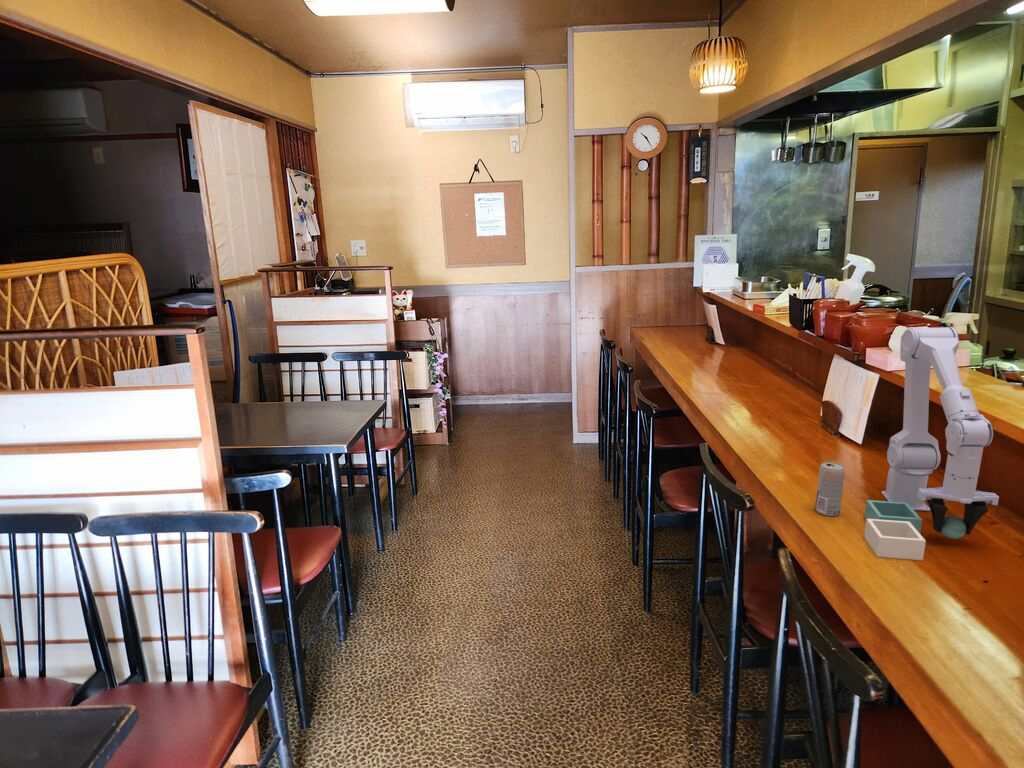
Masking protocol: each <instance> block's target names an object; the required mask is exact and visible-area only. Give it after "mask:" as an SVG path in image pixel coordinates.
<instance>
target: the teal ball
mask: <svg viewBox="0 0 1024 768" xmlns="http://www.w3.org/2000/svg"><path fill="white" fill-rule="evenodd" d="M965 532H966V524H965V523H964V521H963V519H962V518H961V517H959V516H956V515H952V514H950V515H945V516H944V519H943V525H942V530H941V533H940V534H941V535H943V536H944V537H946V538H948V539H953V540H955V539H956V540H957V539H960V538H962V537H963V536H964V535H965Z"/></svg>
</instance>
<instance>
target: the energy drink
mask: <svg viewBox="0 0 1024 768" xmlns="http://www.w3.org/2000/svg"><path fill="white" fill-rule="evenodd" d="M818 470H819V471H818V472H819V473H818V481H817V489H816V499H815V509H814V510H815V511H816V512H817V514H820V516H821V515H822V516H825V517H837V516H839V515H841V506H842V499H843V492H844V491H843V490H844V483H845V474H846V473H845V472H846V471H845V470H846V469H845V466H844V465H843V464H841V463H838V462H832V461H824V462H821V464H820V467H819V469H818Z"/></svg>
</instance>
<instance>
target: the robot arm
mask: <svg viewBox="0 0 1024 768" xmlns="http://www.w3.org/2000/svg"><path fill="white" fill-rule="evenodd" d="M959 344H960V340H959V335H958V332H957V331H956V329H955V328H954V327H953V326H947V327H913V326H910V327H907V328H906V329H905V330H904V332H903V333H902V334H901V336H900V347H899V348H900V351H899V353H900V357H899V358H900V361H901V362H904V363H905V364H904V365H905V368H904V388H903V389H904V393H903V394H904V395H903V398H904V399H903V422H902V423H903V424H902V425H903V426H902V429H901V431H898V432H897V433H895V434H894V435H892V436H891V437H890V439H889V444H888V449H887V452H886V458H887V463H888V464H889V466H890V467H889V470H888V473H887V479H886V488H885V490H882V491H881V495H882V496H883V497H884V498H885V499H886V501H888V502H903V503H908V504H909V505H910V507H911V508H912V509H913V510H914V511H925V512H930V513H931V517H932V527H933V530H935V532H936V533H940V534H942V533H941V530H942V525H943V519H944V516H946V512H947V511H948V509H949V508H948V506H946V504H945V503H946V502H948V501H949V502H960V504H963V505H964V508H963V509H964V513H963V519H962V520H963V521H964V523H965V524H966V532H965V534H966V535H968V536H970V535H971V532H972V531H973V529H974V528H975V526H976V525H977V523H978V522H979V520H980V519H981V518H982V517H983V516H985V515H986V514H987V513H988V511H989V506H987V504H991V505H993V506H998V504H999V499H1000V496H999V495H997V494H996V493H995V492H988V491H987V492H986V491H981V490H976V489H977V485H978V478H979V474H980V467H981V462H982V457H983V451H984V447H988V446H990V445H991V443H992V441H993V439H994V431H993V427H992V423H991V422H990V421H989V420H988V419H987V418H985V416H984V414H980V412H979V409H978V407H977V403H976V401H975V398H974V396H973V393H972V391H971V390H970V389H969V387H966V386H963V383H962V379H961V374H960V369H959V366H958V363H957V358H956V354H957V351H958V349H959ZM931 367H932V369H933V371H934V373H935V375H936V378H937V379H938V382H939V384H940V386H941V388H942V392H941V393H940V395H939V400H940V402H941V406H942V409H943V412H944V415H945V419H946V420H947V423H948V424H947V426H946V427H945V430H944V431H945V432H944V433H945V434H944V435H945V439H946V440H945V441H946V446H945V447H946V451H947V459H946V464H945V470H944V477H943V482H942V486H941V487H928V480H929V475H930V474H932V473H933V470H936V469H937V468H938V467H939V465H940V464H941V457H942V456H941V452H940V449H939V448H940V446H939V440H938V439H937V438H936V437H934V436H933V435H931V434H930V433H929V432H928V431H929V412H930V411H929V407H930V406H929V404H930V384H931V383H930V380H931V379H930V378H931ZM927 487H928V488H927ZM925 501H926V502H927V504H928V505H927V504H926V502H925ZM945 501H946V502H945ZM965 534H964V535H965Z"/></svg>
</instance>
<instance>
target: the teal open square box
mask: <svg viewBox="0 0 1024 768" xmlns="http://www.w3.org/2000/svg"><path fill="white" fill-rule="evenodd" d="M864 519H865V520H866V519H880V520H894V521H908V522H910V523H911V524H912V525H913V526H914V527H915V529H916V530H917V531H918V532H919V533H920V534H921V530H922V523H923V519H922V518H921V517H920V515H918V513H917V512H916V510H913V509H912V508H911V507H910V505H909V504H908V503H903V502H888V500H886V501H885V500H870V499H866V502H865V511H864Z"/></svg>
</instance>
